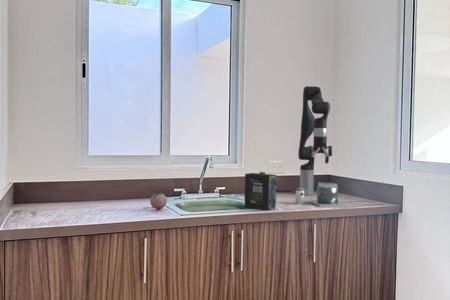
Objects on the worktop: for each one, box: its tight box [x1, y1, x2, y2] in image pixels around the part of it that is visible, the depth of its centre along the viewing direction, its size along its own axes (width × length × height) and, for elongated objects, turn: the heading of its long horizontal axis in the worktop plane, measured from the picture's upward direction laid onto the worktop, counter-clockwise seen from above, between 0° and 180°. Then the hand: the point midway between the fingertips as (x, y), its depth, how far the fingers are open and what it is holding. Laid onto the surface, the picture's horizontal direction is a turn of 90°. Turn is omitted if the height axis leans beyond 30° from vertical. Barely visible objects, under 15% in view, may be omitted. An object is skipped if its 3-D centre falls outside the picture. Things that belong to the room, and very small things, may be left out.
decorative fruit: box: [149, 191, 168, 211], centre depth 202 cm, size 9×8×10 cm
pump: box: [295, 187, 305, 205], centre depth 226 cm, size 7×5×10 cm
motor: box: [309, 182, 347, 208], centre depth 226 cm, size 16×16×12 cm
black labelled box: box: [242, 171, 278, 211], centre depth 211 cm, size 8×18×20 cm, turn 53°
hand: (319, 163), depth 223 cm, fingers open, 8 cm apart
